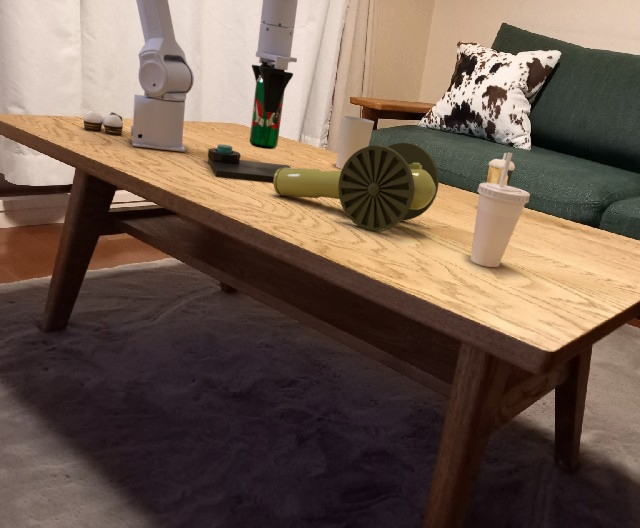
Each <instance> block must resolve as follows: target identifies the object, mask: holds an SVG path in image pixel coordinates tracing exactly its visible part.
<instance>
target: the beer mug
mask: <svg viewBox="0 0 640 528" xmlns="http://www.w3.org/2000/svg"><path fill="white" fill-rule="evenodd" d="M507 154H508V152H504V153H503V157H502V159H498V158H494V159H491V160H490V161H489V162H488V165H487V172H486V179H485V183H495V184H500V180H501V176H502V173H503V169H504V165H505V162H506V158H507ZM515 169H516V165H515V163H514V162H513V161H512V160H511V161H510V164H509V168H508V172H507V175H506V179H505V183H504V185H507V186H509V184H510V182H511V180H512V178H513V177H512V176H513V174H514V171H515Z"/></svg>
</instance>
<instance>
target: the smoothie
mask: <svg viewBox="0 0 640 528" xmlns="http://www.w3.org/2000/svg"><path fill="white" fill-rule="evenodd" d="M512 157H513V152H507V155H506V159H505V160H506V162H505V165H504V169H503V173H502V176H501V180H500V184H495V183H486V182H480V183H479V185H478V188H477V193H478V194H479V195H478V201H477V208H476V215H475V222H474V223H475V224H474V229H473V231H474V232H473V238H472V245H471V252H470V254H471V255H470V261H471V262H472V263H474V264H476V265H479V266H483V267H488V268H498V267H499V266H500V264H501V261H502V259H503V256H504V255H505V253H506V251H507V248H508V245H509V243H510V241H511V239H512V236H513V234H514V231H515V229H516V227H517V224H518V222H519V220H520V217H521V215H522V212H523V210H524V208H525V205H526V204H528V203H529V202H530V197H531V194H530V192H528V191H526V190H524V189H521V188H518V187H515V186H510V185H508V186H507V185H504V183H505V179H506V175H507V172H508V168H509V164H510V161H511V162H512Z"/></svg>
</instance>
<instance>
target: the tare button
mask: <svg viewBox="0 0 640 528" xmlns="http://www.w3.org/2000/svg"><path fill="white" fill-rule="evenodd" d="M216 148H217V152H221V153H228V154H232V150H233V146H232V145H230V144H229V145H228V144H223V143H222V144H217V147H216Z"/></svg>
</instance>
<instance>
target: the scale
mask: <svg viewBox="0 0 640 528" xmlns="http://www.w3.org/2000/svg"><path fill="white" fill-rule="evenodd" d="M207 163H208V165H209V166H210V168H211V170H212V172H213V173H214V175H215V177H217V178H227V179H236V180H245V181H246V180H247V181H254V182H255V181H256V182H267V183H273V182H274V175H275V173H276V171H277V170H278V169H283V168H292V167H291V166H290V165H288V164H280V163H272V162H271V163H270V162H264V161H263V162H262V161H253V160H246V159H245V160H244V159H241V153H240V152H239V151H236V150H233V149H232V154H228V153H221V152H217V147H211V148H208V150H207Z"/></svg>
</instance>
